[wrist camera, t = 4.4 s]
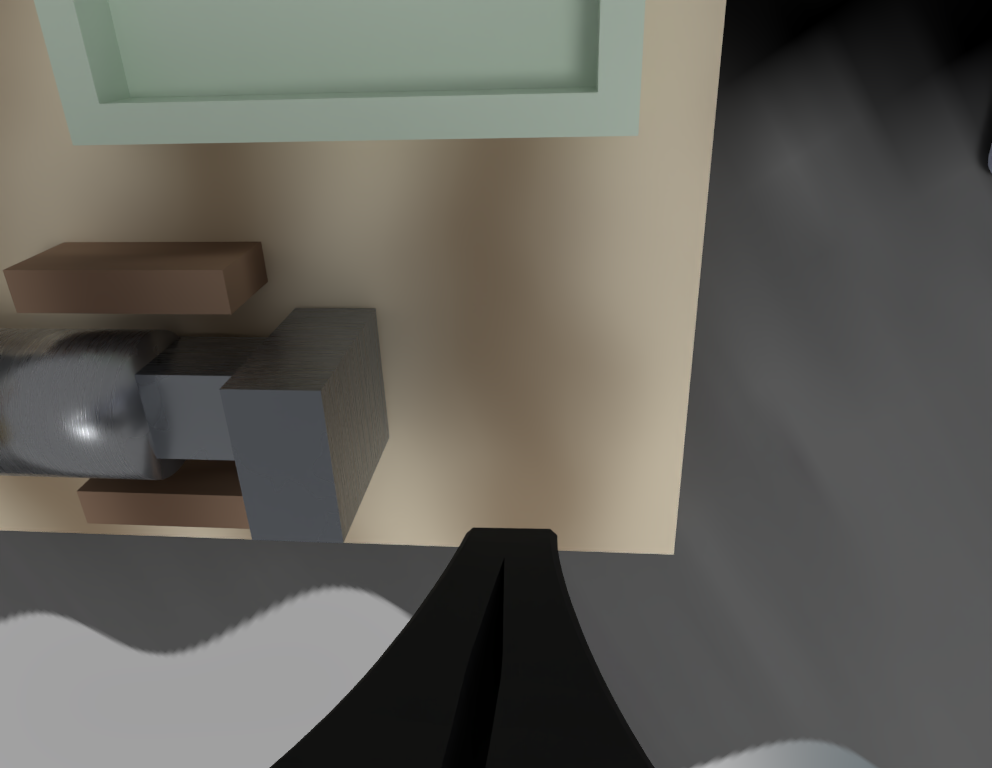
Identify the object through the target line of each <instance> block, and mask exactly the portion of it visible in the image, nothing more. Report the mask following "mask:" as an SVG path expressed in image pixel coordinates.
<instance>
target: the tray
mask: <svg viewBox="0 0 992 768" xmlns="http://www.w3.org/2000/svg"><path fill="white" fill-rule="evenodd" d="M34 3H35V7H36V11H37V14H38V18H39V22H40V25H41V29H42V33H43V37H44V40H45V44H46V48H47V51H48V55H49V59H50V62H51V66H52V70H53V73H54V77H55V81H56V85H57V88H58V92H59V96H60V99H61V103H62V107H63V110H64V114H65V118H66V122H67V125H68V129H69V133H70V136H71V140H72V144H73V145H131V144H189V143H248V142H306V141H365V140H423V139H482V138H540V137H598V136H638V132H639V113H640V94H641V74H642V55H643V36H644V17H645V0H34Z"/></svg>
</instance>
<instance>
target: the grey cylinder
mask: <svg viewBox="0 0 992 768" xmlns="http://www.w3.org/2000/svg"><path fill="white" fill-rule="evenodd" d="M178 338H179V336H178V335H176V334H175V333H173V332H171V331H168V330H160V329H36V328H0V476H33V477H68V478H103V479H138V480H163V479H165V478H168V477H170V476H172V475H173V474H174V473H175V472H177V471H178V470H179V468H180V467H181V466H182V465H183V463H184V462H185V461H186V459H159V458H157V456H156V452H155V449H154V445H153V441H152V438H151V434H150V430H149V427H148V423H147V419H146V415H145V412H144V408H143V404H142V401H141V397H140V393H139V390H138V386H137V382H136V379H135V374H136V373H137V372H138V371H140V370H141V369H142V368H143V367H144V366H146V365H147V364H148V363H149V362H150V361H152V360H153V359H154V358H155V357H156V356H158V355H159V354H160V353H161V352H162V351H164V350H165V349H166V348H167V347H168V346H170V345H171V344H172V343H173V342H175V341H176V340H177V339H178Z"/></svg>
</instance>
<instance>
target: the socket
mask: <svg viewBox="0 0 992 768" xmlns="http://www.w3.org/2000/svg"><path fill="white" fill-rule="evenodd" d="M3 273H4V276H5V279H6V282H7V285H8V288H9V291H10V294H11V297H12V300H13V303H14V306H15V309H16V312H17V313H80V314H232V313H233V312H235V311H236V310H237V309H238V308H239V307H240V306H241V305H242V304H244V303H245V302H246V301H247V300H248V299H249V298H250V297H251V296H253V295H254V294H255V293H256V292H257V291H258V290H259V289H260V288H262V287H263V286H264V285H265V284H266V283H267V282H268V278H267V273H266V267H265V261H264V255H263V249H262V244H261V242H63V243H61V244H59V245H57V246H55V247H52V248H50V249H48V250H46V251H44V252H41V253H39V254H37V255H35V256H33V257H30V258H28V259H26V260H24V261H22V262H19V263H17V264H15V265H13V266H11V267H8V268H6V269H4V270H3ZM77 494H78V497H79V500H80V503H81V506H82V509H83V512H84V515H85V518H86V521H87V523H90V524H119V525H147V526H176V527H205V528H234V529H250V528H249V524H248V519H247V514H246V510H245V505H244V501H243V496H242V491H241V487H240V482H239V478H238V473H237V468H236V464H235V460H199V459H186V461H185V462H184V463H183V465H182V466H181V467H180V468H179V470H178V471H177V472H175V473H174V474H173V475H172V476H170V477H168V478H165V479H163V480H138V479H103V478H90V479H89V480H88V481H87V482H86V483H85V484H84V485H83V486H82V487H80V488H79V489H78V490H77Z"/></svg>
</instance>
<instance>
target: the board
mask: <svg viewBox="0 0 992 768" xmlns="http://www.w3.org/2000/svg"><path fill="white" fill-rule="evenodd" d="M725 8H726V0H645V17H644V36H643V55H642V74H641V94H640V113H639V132H638V136H598V137H540V138H482V139H423V140H365V141H306V142H248V143H189V144H131V145H73V144H72V140H71V136H70V133H69V129H68V125H67V122H66V118H65V114H64V110H63V107H62V103H61V99H60V96H59V92H58V88H57V85H56V81H55V77H54V73H53V70H52V66H51V62H50V59H49V55H48V51H47V48H46V44H45V40H44V37H43V33H42V29H41V25H40V22H39V18H38V14H37V11H36V7H35V3H34V0H0V328H36V329H160V330H168V331H171V332H173V333H175V334H176V335H178V336H179V337H269V336H270V334H271V333H272V332H273V331H274V330H275V329H276V328H277V327H278V326H279V325H280V324H281V323H282V322H283V321H284V320H285V318H286V317H287V316H288V315H289V314H290V313H291V312H292V311H293V310H294V309H295V308H376V317H377V326H378V335H379V345H380V354H381V363H382V373H383V382H384V391H385V400H386V410H387V419H388V428H389V439H388V442H387V444H386V446H385V448H384V451H383V453H382V455H381V458H380V460H379V462H378V465H377V467H376V469H375V472H374V474H373V476H372V479H371V481H370V483H369V485H368V488H367V490H366V492H365V495H364V497H363V499H362V502H361V504H360V506H359V509H358V511H357V513H356V515H355V518H354V520H353V522H352V525H351V527H350V529H349V532H348V534H347V536H346V539H345V541H344V543H367V544H395V545H423V546H451V547H459V546H460V544H461V542H462V540H463V538H464V537H465V535H466V533H467V532H468V531H469V530H471V529H472V528H473V527H475V528H533V529H551V530H552V531H553V532H554V533H555V534H557V540H558V550H562V551H589V552H617V553H645V554H673V555H674V545H675V535H676V524H677V514H678V503H679V493H680V482H681V472H682V461H683V450H684V440H685V429H686V419H687V408H688V398H689V387H690V377H691V366H692V356H693V345H694V335H695V324H696V314H697V303H698V292H699V282H700V271H701V261H702V250H703V240H704V229H705V219H706V208H707V198H708V187H709V177H710V166H711V156H712V145H713V134H714V124H715V113H716V103H717V92H718V82H719V71H720V61H721V50H722V40H723V29H724V19H725ZM63 242H261V244H262V249H263V255H264V261H265V267H266V273H267V278H268V282H267V283H266V284H265V285H264V286H263V287H262V288H260V289H259V290H258V291H257V292H256V293H255V294H254V295H253V296H251V297H250V298H249V299H248V300H247V301H246V302H245V303H244V304H242V305H241V306H240V307H239V308H238V309H237V310H236V311H235V312H233V313H232V314H80V313H17V312H16V309H15V306H14V303H13V300H12V297H11V294H10V291H9V288H8V285H7V282H6V279H5V276H4V273H3V270H4V269H6V268H8V267H11V266H13V265H15V264H17V263H19V262H22V261H24V260H26V259H28V258H30V257H33V256H35V255H37V254H39V253H41V252H44V251H46V250H48V249H50V248H52V247H55V246H57V245H59V244H61V243H63ZM89 479H90V478H68V477H33V476H0V530H7V531H34V532H62V533H90V534H118V535H145V536H173V537H201V538H229V539H252V537H251V533H250V529H234V528H205V527H176V526H147V525H119V524H90V523H87V521H86V518H85V515H84V512H83V509H82V506H81V503H80V500H79V497H78V494H77V490H78V489H79V488H80V487H82V486H83V485H84V484H85V483H86V482H87V481H88V480H89Z"/></svg>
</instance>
